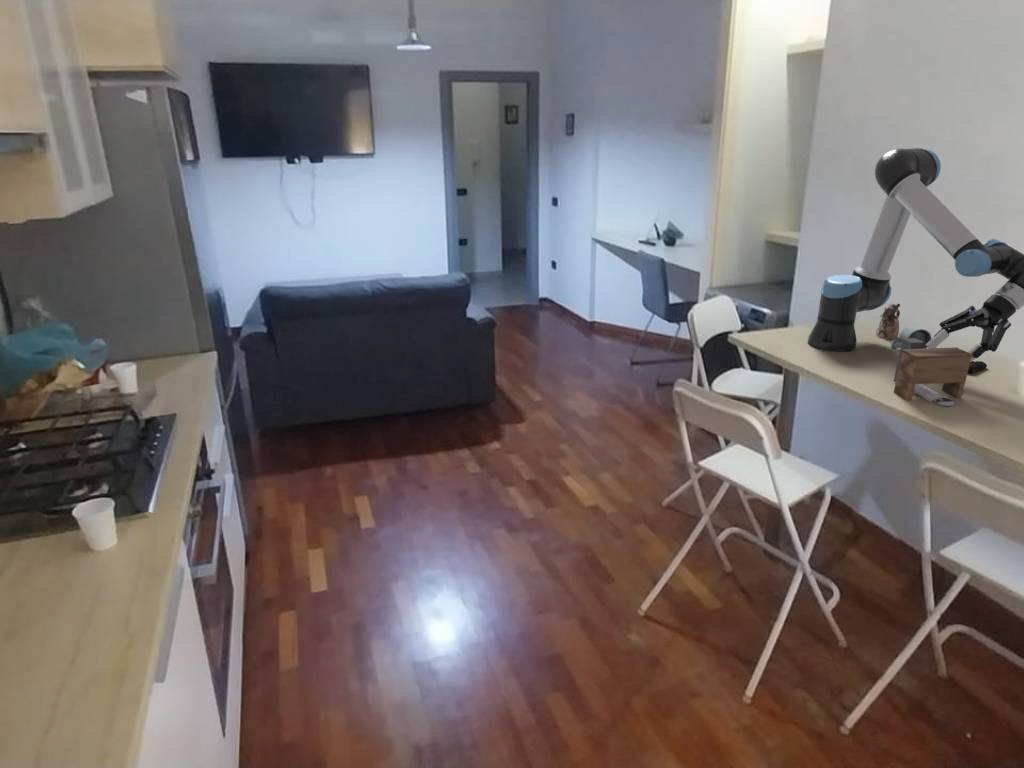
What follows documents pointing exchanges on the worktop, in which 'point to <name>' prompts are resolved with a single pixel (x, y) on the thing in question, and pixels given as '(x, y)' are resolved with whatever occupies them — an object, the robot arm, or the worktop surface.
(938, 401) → the dark grey round piece
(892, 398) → the worktop surface
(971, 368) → the door handle
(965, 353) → the walnut stool
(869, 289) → the robot arm
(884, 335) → the figurine
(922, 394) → the grey block with plate
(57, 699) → the worktop surface
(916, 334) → the ceramic mug
